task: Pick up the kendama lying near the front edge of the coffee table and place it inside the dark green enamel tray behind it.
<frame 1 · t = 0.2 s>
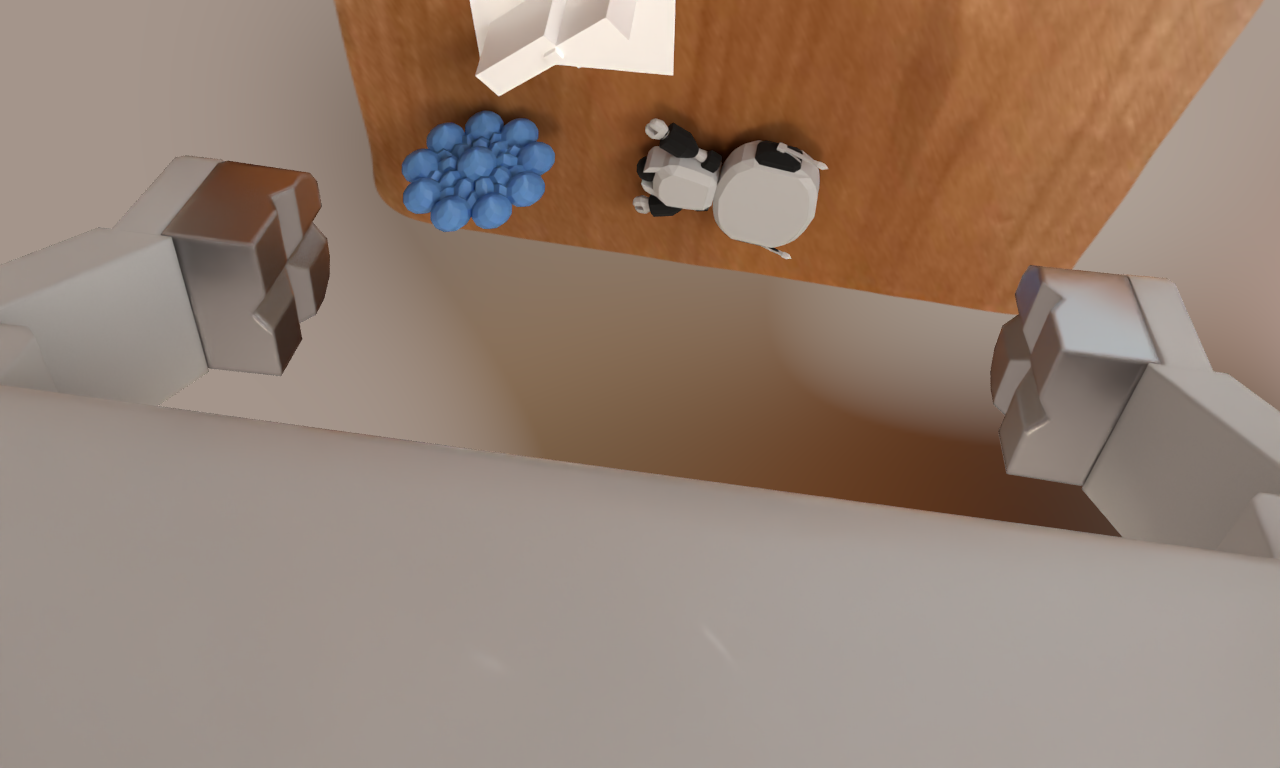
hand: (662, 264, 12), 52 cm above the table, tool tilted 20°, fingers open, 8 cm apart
blue beaded flower: (493, 120, 87), on the table
napkin holder: (571, 5, 75), on the table
robot toy: (729, 161, 87), on the table
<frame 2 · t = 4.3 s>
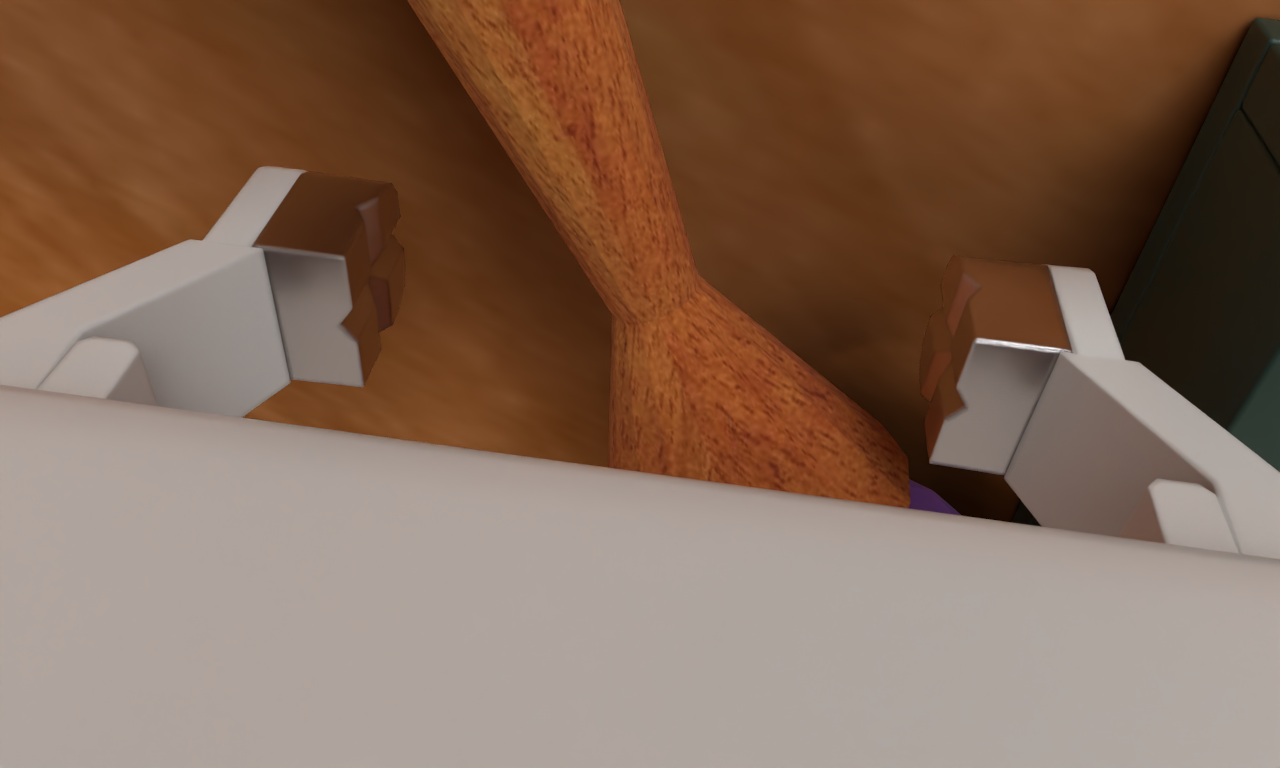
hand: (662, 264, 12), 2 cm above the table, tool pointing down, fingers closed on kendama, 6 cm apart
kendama: (668, 157, 14), on the table, touching gripper
when the fingers open (3 cm above the table, at t = 10.8 s): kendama stays where it is, resting on tray.
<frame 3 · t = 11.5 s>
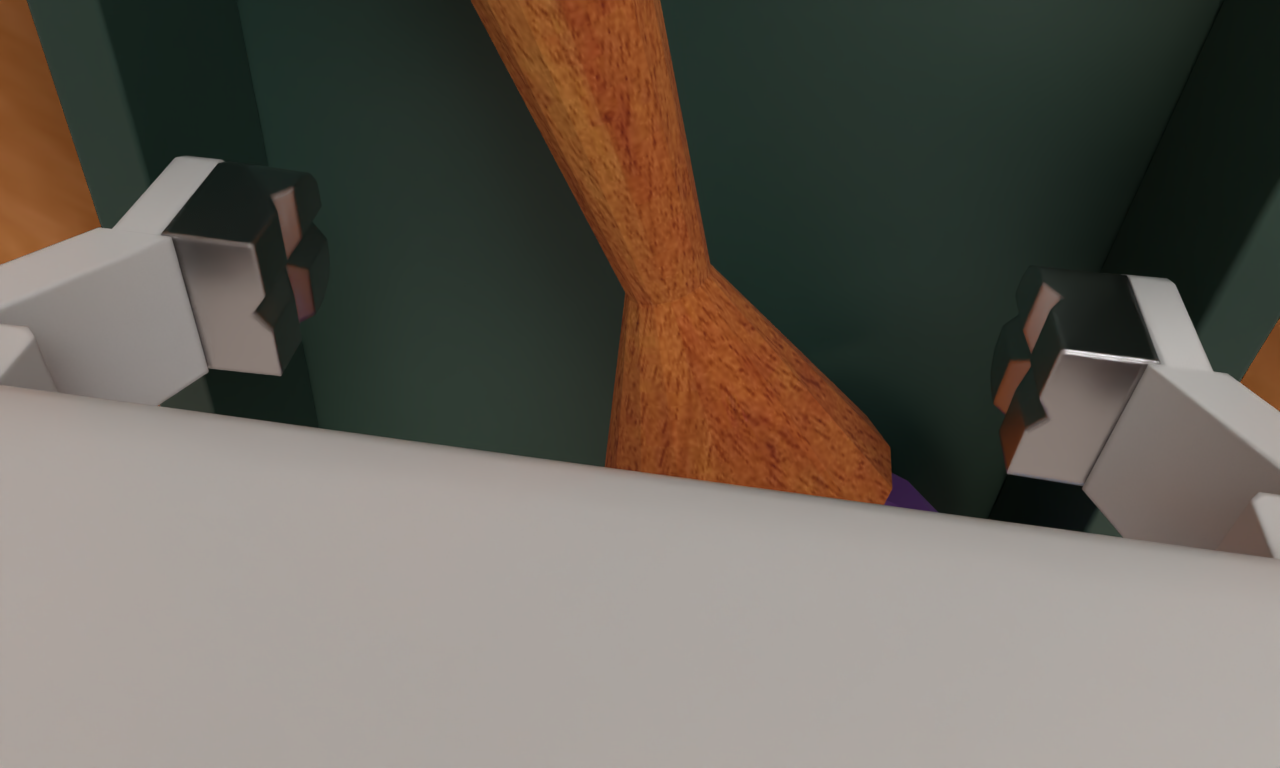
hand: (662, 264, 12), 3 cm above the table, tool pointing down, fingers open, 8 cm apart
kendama: (680, 148, 15), resting on tray
tray: (689, 123, 15), on the table
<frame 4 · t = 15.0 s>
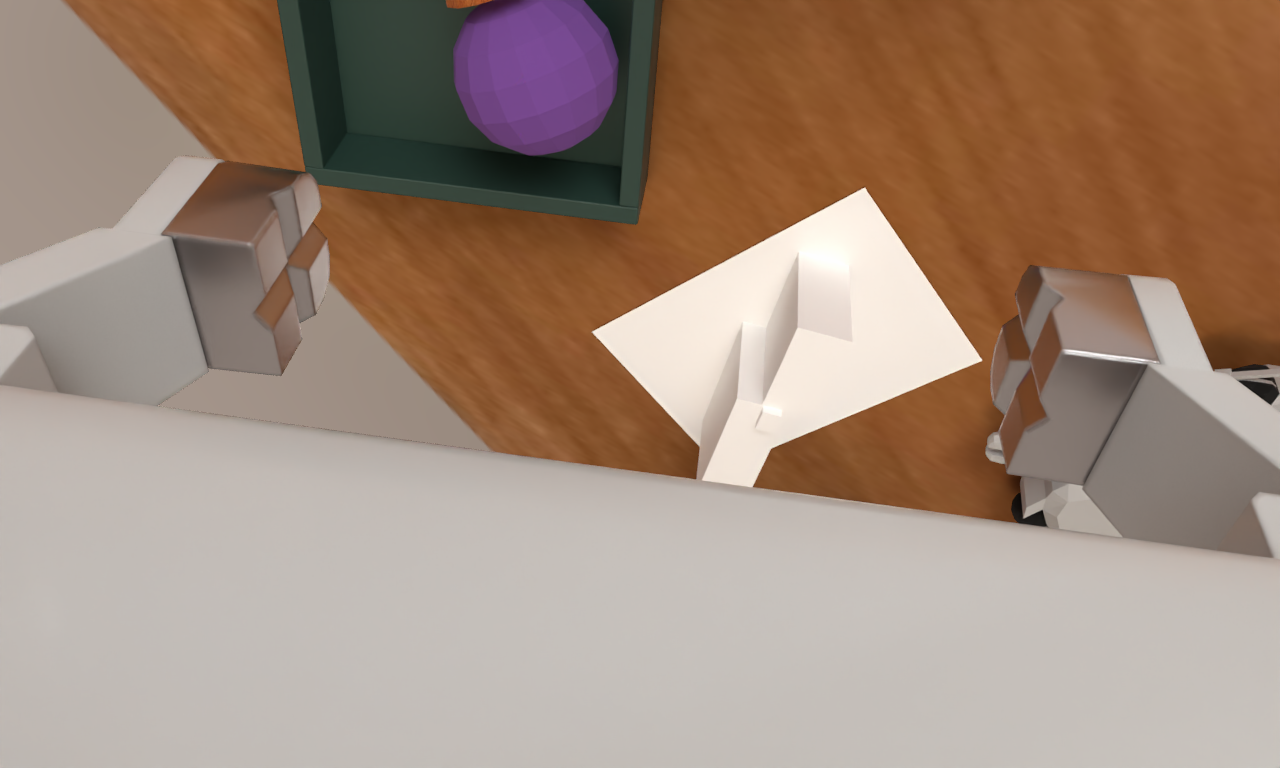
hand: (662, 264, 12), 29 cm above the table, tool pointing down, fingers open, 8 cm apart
napkin holder: (783, 343, 50), on the table
robot toy: (1159, 439, 52), on the table
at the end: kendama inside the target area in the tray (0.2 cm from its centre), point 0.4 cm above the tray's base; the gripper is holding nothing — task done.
